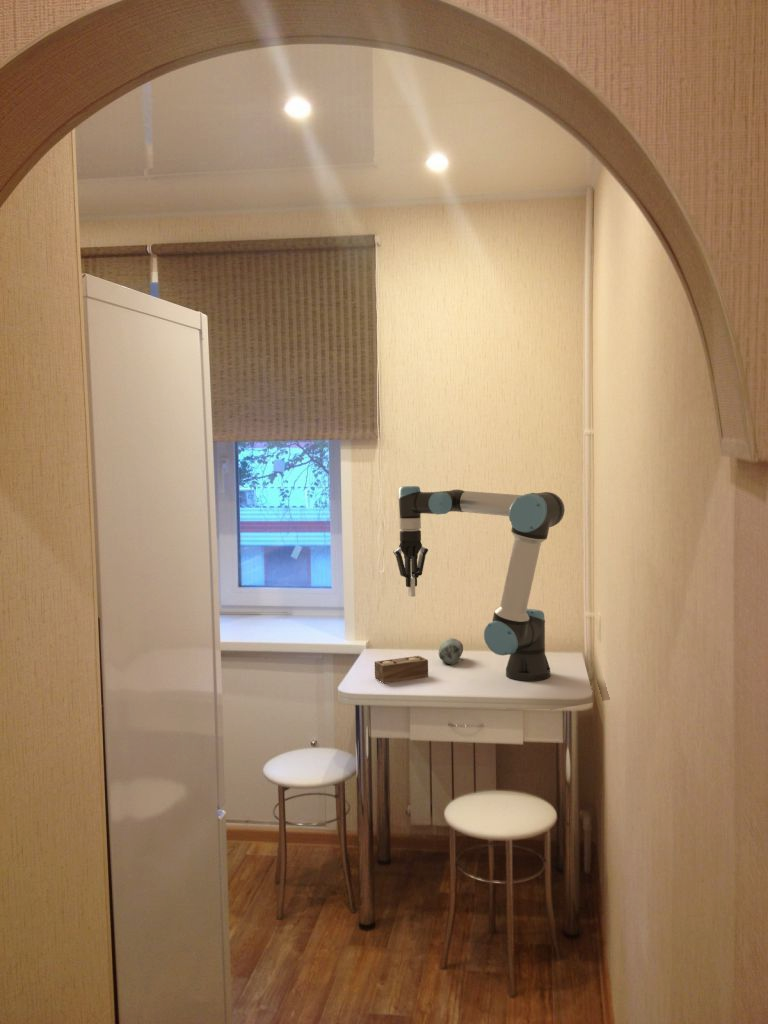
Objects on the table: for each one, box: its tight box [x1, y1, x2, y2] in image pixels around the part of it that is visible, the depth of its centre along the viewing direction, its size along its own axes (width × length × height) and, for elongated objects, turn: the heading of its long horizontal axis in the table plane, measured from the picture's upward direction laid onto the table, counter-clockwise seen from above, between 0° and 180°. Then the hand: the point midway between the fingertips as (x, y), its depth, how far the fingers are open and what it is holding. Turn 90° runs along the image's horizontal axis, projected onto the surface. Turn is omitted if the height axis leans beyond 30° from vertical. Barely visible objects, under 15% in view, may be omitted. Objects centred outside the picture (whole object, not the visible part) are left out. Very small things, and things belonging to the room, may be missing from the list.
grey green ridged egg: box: [438, 637, 464, 665], centre depth 330 cm, size 14×10×10 cm
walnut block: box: [374, 655, 429, 684], centre depth 308 cm, size 7×17×6 cm, turn 115°
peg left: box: [382, 661, 394, 665], centre depth 306 cm, size 4×4×5 cm
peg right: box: [409, 658, 420, 661], centre depth 310 cm, size 4×4×5 cm
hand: (411, 595), depth 318 cm, fingers closed
